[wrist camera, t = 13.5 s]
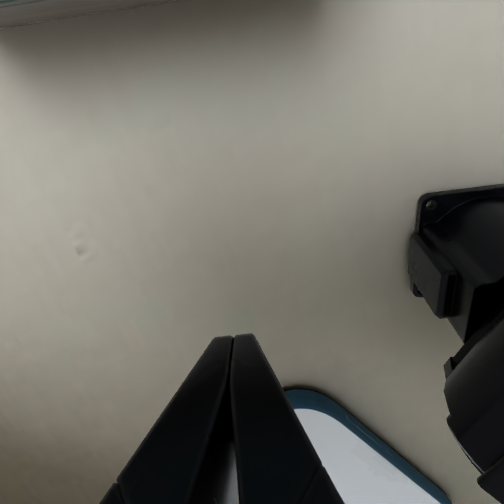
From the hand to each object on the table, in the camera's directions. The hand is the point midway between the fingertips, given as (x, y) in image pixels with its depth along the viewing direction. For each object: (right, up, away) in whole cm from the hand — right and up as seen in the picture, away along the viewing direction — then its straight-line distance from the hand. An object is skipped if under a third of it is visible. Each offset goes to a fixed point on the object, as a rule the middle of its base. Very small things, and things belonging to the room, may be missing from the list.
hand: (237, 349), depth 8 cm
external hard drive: (+8, -17, +25) cm, 31 cm away
